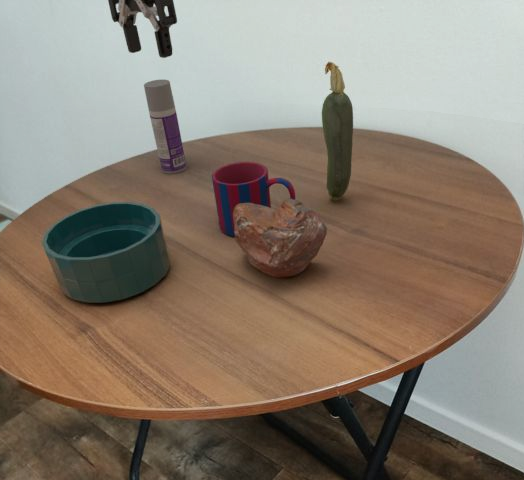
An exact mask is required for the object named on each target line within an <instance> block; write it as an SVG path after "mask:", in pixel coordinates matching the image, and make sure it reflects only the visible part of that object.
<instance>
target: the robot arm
mask: <svg viewBox="0 0 524 480" xmlns="http://www.w3.org/2000/svg"><path fill="white" fill-rule="evenodd" d="M107 2H108V6H109V10H110V15H111V19H112V21H113V23H118V24H119V26H120V27H121V28H122V30H123V34H124V39H125V43H126V46H127V51H128V52H129V53H131V54H134V53H138V52H141V51H142V43H141V39H140V35H139V31H138V25H136V20H137V15H138V14H139V13H142V15H143V16H144V18H145V19H147V20H149V22H150V24H151V25H152V27H153V29H154V37H155V41H156V47H157V51H158V52H157V53H158V56H159V58H162V59H166V58H168V57H171V56H173V45H172V39H171V34H170V28H171V26H173V25H176V24H177V23H178V17H177V13H176V8H175V3H174V0H107ZM166 8H167V13H168V15H167V13H166V12H165V9H166ZM157 17H158V18H157Z"/></svg>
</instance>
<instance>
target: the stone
mask: <svg viewBox="0 0 524 480" xmlns="http://www.w3.org/2000/svg"><path fill="white" fill-rule="evenodd" d="M233 219H234V225H235V231H234V232H235V236H236V237H234V238H235V242H236V243H237V245H238V247H239V248H240V249H241V250H242V252H243V253H244V254H245V255H246V257H247V260H248V261H249V264H250V265H251V266H253V267H254V268H255V269H257V270H259V271H260V272H262V273H264V274H266V275H267V276H269V277H273V278H286V277H294V276H296V275H299V274H300V273H302V272H303V271H304V270H305V269H306V268H307V267H308V266H309V264H311V262H312V260H313V259H314V258H316V257H317V256H318V253H319V251H320V250H321V247H322V246H323V245H324V241H325V239H326V236H327V233H328V228H327V226H326V224H325V222H324V221H323V219H322V217H321V216H320V215H319V214H317V212H316V211H315V210H314V209H313V208H312V207H309V206H307V205H304V203H303V202H301V201H299V200H297V199H295V200H294V199H290V198H286V199H284V200H283V201H282V202H281V203H280V204H278V206H277V208H276V209H275V208H272V207H271V208H269V207H266V206H262V205H257V204H253V203H240V204H238V205H236V207H235V208H234V211H233Z"/></svg>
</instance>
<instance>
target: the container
mask: <svg viewBox="0 0 524 480" xmlns="http://www.w3.org/2000/svg"><path fill="white" fill-rule="evenodd" d="M143 88H144V94H145V98H146V103H147V108H148V114H149V118H150V123H151V128H152V132H153V136H154V141H155V145H156V151H157V155H158V159H159V163H160V168H161V172H162V173H163V174H165V175H175V174H179V173H182V172H184V171H185V170H186V169H187V162H186V157H185V152H184V147H183V141H182V140H183V139H182V135H181V130H180V124H179V120H178V114H177V109H176V105H175V100H174V96H173V91H172V86H171V82H170V80H169V79H154V80H150V81H147V82H146V83H144V84H143Z"/></svg>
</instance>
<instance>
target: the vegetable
mask: <svg viewBox="0 0 524 480" xmlns="http://www.w3.org/2000/svg"><path fill="white" fill-rule="evenodd" d="M329 71H330V77H329V81H330V88H329V91H331V92H330V93H329V94H328V95H327V96H325V98H324V100H323V103H322V107H321V125H322V130H323V138H324V142H325V145H326V151H327V153H326V154H327V167H326V190H327V194H328V196H329V199H330V200H333V202H336V201H338V200H339V199H341V197H343V196H344V195H345V194H346V192H347V190H348V188H349V184H350V180H351V176H352V158H353V157H352V156H353V135H354V110H353V109H354V108H353V103H352V101H351V99H350V97H349V95H348V94H347V93H345V92H344V91H345V89H346V86H345V85H346V84H345V82H344V77H343V74H342V71H341V69H339V66H338V65H336V63H334V62H332V61H328V62H327V63H326V64H325V67H324V74H325V75H327V74H328V73H329Z"/></svg>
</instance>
